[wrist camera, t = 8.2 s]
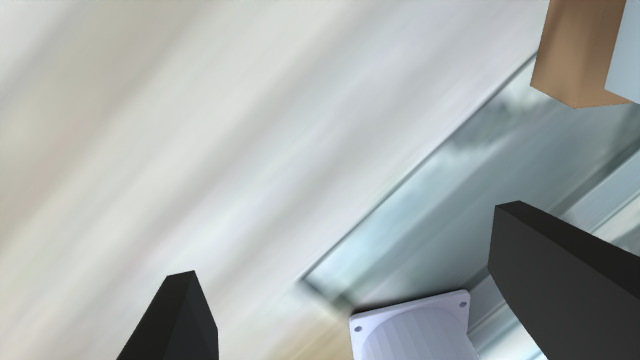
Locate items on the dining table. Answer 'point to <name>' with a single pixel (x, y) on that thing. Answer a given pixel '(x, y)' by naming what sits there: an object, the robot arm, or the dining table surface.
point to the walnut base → (578, 52)
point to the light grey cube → (626, 56)
